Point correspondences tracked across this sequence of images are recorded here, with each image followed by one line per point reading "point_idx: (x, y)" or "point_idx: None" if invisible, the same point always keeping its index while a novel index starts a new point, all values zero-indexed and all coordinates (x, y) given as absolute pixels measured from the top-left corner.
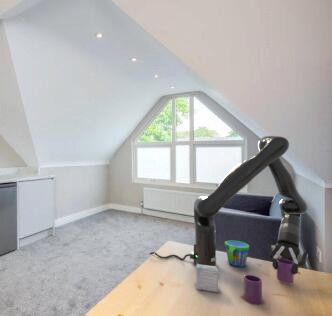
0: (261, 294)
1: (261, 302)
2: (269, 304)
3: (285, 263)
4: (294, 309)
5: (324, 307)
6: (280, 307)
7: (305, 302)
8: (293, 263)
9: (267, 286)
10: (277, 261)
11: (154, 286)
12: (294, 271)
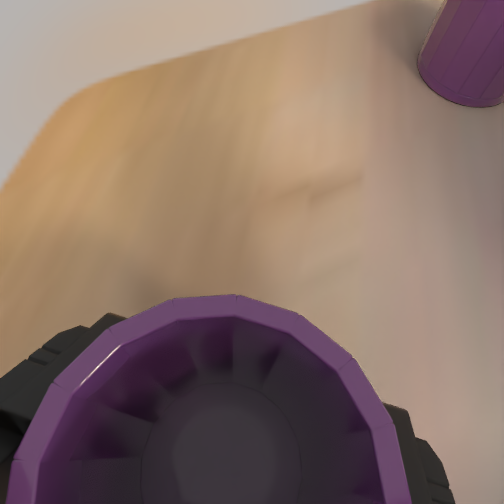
0: (443, 2)
1: (419, 54)
2: (377, 58)
3: (239, 308)
4: (251, 57)
5: (52, 136)
6: (322, 51)
7: (156, 152)
8: (44, 397)
9: (392, 292)
10: (388, 425)
11: None
12: (112, 316)
